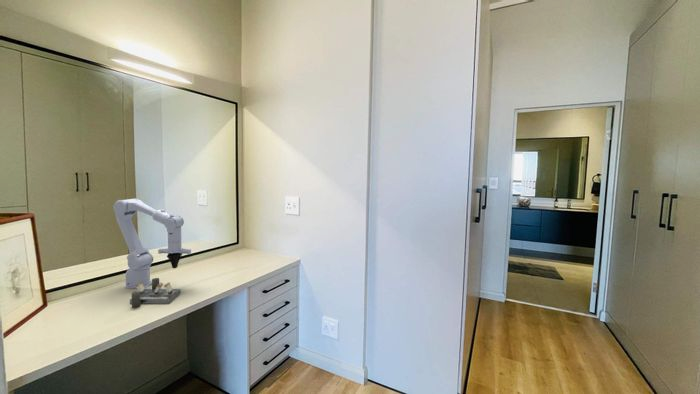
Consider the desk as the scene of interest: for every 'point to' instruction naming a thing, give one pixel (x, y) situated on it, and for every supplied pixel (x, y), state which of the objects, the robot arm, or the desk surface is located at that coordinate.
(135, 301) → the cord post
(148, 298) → the breaker panel
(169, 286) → the orange and white block
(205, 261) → the desk surface
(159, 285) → the white and orange block
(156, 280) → the cylinder
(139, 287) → the white and orange block
